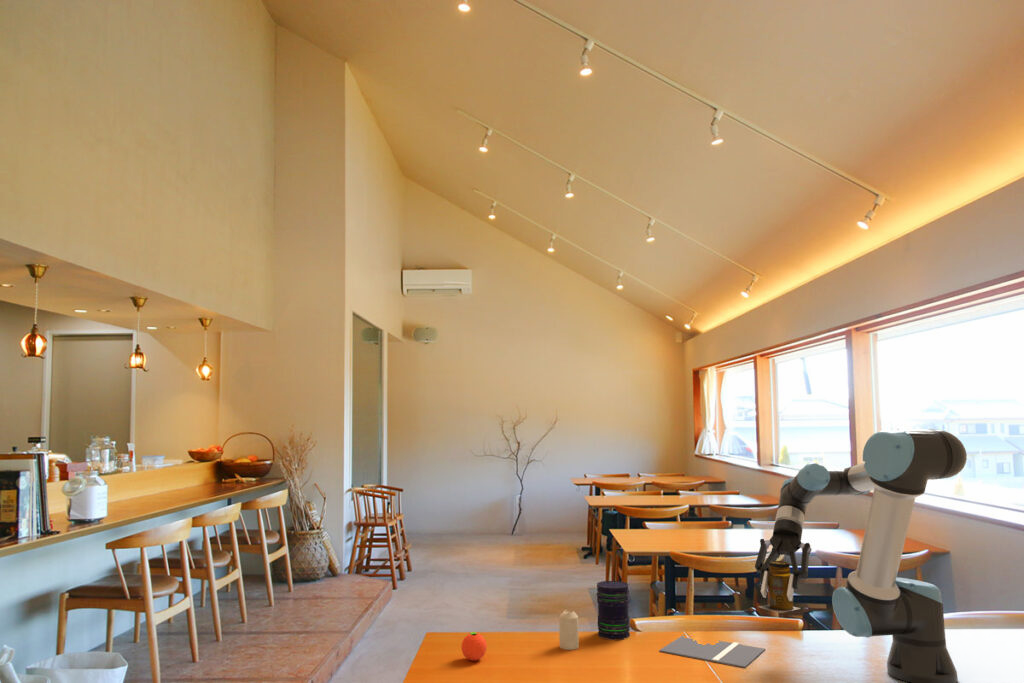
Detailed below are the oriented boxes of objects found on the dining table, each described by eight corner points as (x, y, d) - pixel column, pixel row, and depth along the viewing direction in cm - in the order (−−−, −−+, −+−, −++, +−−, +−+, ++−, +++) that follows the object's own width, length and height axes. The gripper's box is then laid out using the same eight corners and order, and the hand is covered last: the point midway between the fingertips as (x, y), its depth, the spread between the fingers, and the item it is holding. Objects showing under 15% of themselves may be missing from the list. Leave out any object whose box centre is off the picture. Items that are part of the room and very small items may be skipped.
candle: (556, 645, 196) (555, 610, 197) (572, 643, 198) (571, 607, 199) (565, 651, 191) (564, 614, 192) (582, 648, 193) (581, 612, 194)
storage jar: (636, 637, 203) (634, 586, 205) (608, 641, 199) (606, 589, 201) (619, 628, 212) (618, 579, 214) (591, 632, 208) (590, 582, 211)
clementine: (457, 656, 187) (457, 629, 188) (481, 653, 189) (481, 627, 190) (465, 665, 179) (465, 637, 180) (490, 662, 182) (490, 634, 183)
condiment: (800, 608, 181) (797, 562, 183) (781, 613, 176) (778, 566, 178) (777, 603, 187) (774, 558, 189) (757, 608, 183) (755, 562, 184)
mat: (765, 650, 190) (765, 647, 190) (745, 668, 176) (745, 665, 176) (684, 635, 204) (683, 633, 204) (659, 651, 190) (659, 648, 190)
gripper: (826, 537, 191) (817, 609, 175) (758, 531, 202) (744, 599, 187) (821, 519, 187) (811, 592, 172) (752, 515, 198) (736, 583, 183)
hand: (776, 596), depth 179 cm, fingers closed on condiment, 6 cm apart
